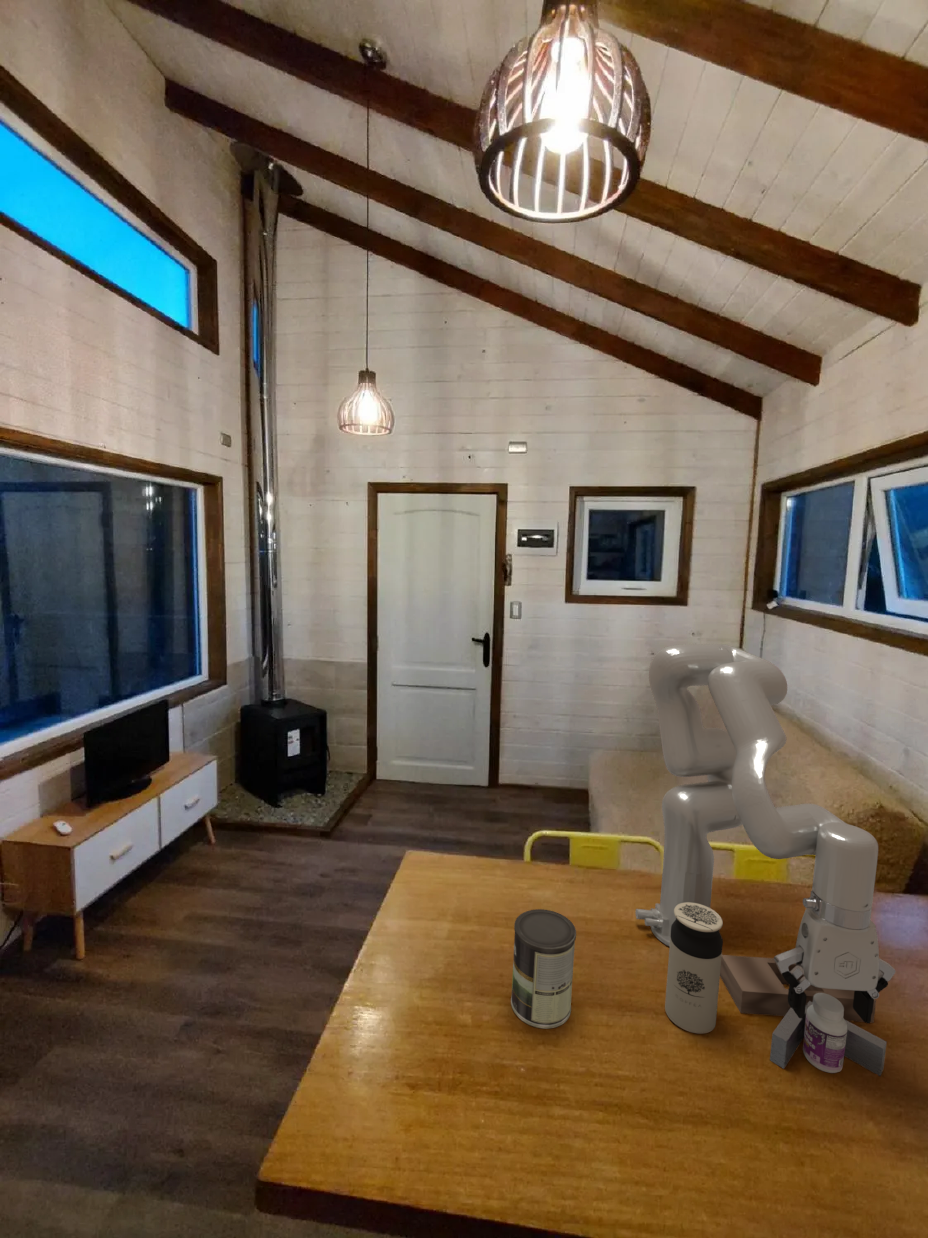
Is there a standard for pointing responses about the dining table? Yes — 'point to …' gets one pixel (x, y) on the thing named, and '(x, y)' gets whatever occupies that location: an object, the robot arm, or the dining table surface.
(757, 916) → the dining table surface
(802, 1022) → the v block
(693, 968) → the travel mug
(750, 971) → the wooden block with hole
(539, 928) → the coffee can
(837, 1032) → the pill bottle
